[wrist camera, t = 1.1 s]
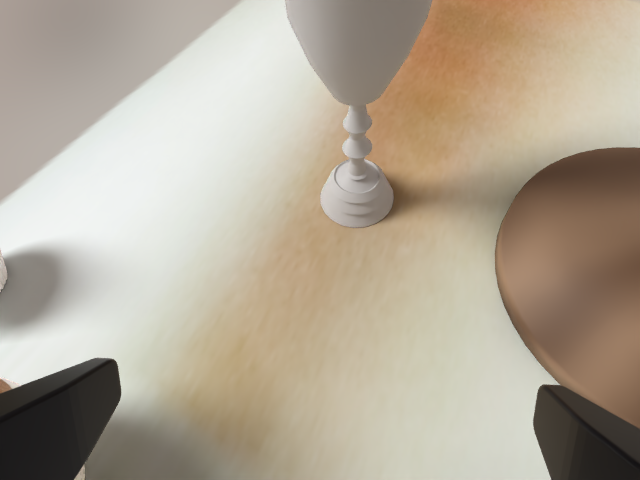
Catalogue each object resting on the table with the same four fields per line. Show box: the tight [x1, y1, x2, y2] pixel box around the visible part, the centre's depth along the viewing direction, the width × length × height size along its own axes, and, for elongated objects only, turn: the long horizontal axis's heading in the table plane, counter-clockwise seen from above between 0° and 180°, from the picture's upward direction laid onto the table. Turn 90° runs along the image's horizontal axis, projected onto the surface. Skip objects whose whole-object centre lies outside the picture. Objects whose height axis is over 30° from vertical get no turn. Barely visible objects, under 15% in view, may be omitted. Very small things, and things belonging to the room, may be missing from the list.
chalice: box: [285, 0, 432, 228], centre depth 20 cm, size 7×7×18 cm
